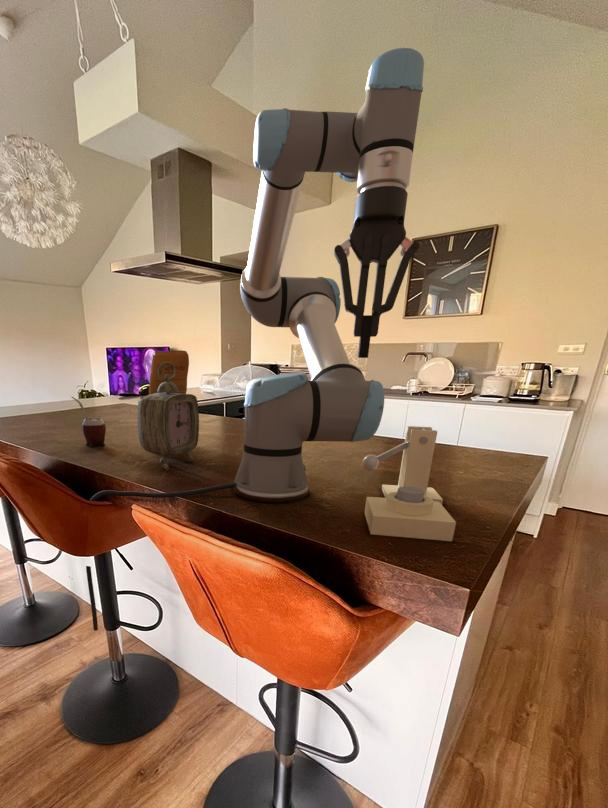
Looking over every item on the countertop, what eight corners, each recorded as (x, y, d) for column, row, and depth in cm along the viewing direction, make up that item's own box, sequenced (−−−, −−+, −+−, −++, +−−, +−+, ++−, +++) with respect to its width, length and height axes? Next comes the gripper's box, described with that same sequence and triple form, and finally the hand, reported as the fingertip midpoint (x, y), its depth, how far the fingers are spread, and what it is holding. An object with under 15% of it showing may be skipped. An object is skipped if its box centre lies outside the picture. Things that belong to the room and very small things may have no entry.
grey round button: (398, 503, 67) (400, 492, 67) (394, 495, 71) (395, 485, 70) (425, 505, 66) (427, 494, 66) (419, 497, 70) (421, 487, 70)
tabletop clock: (166, 473, 101) (162, 362, 92) (137, 468, 105) (130, 362, 96) (199, 461, 113) (198, 362, 104) (172, 457, 117) (168, 361, 108)
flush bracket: (387, 501, 82) (397, 430, 78) (381, 489, 90) (391, 424, 85) (442, 505, 80) (456, 433, 76) (431, 493, 88) (444, 426, 83)
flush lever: (367, 475, 84) (360, 461, 83) (366, 471, 87) (359, 457, 86) (433, 443, 79) (426, 428, 79) (429, 440, 82) (422, 425, 82)
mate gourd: (111, 443, 134) (106, 395, 129) (98, 448, 127) (93, 397, 122) (89, 442, 136) (85, 394, 131) (76, 447, 129) (70, 396, 123)
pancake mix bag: (197, 443, 135) (196, 350, 126) (158, 454, 120) (153, 349, 110) (180, 441, 139) (178, 350, 129) (140, 451, 124) (134, 349, 114)
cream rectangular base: (370, 534, 67) (374, 504, 65) (364, 513, 76) (367, 486, 74) (452, 541, 64) (458, 511, 63) (435, 518, 74) (441, 491, 72)
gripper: (338, 186, 62) (323, 357, 70) (433, 179, 59) (407, 358, 67) (336, 203, 69) (323, 357, 77) (422, 198, 66) (399, 358, 74)
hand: (362, 357), depth 72 cm, fingers closed
